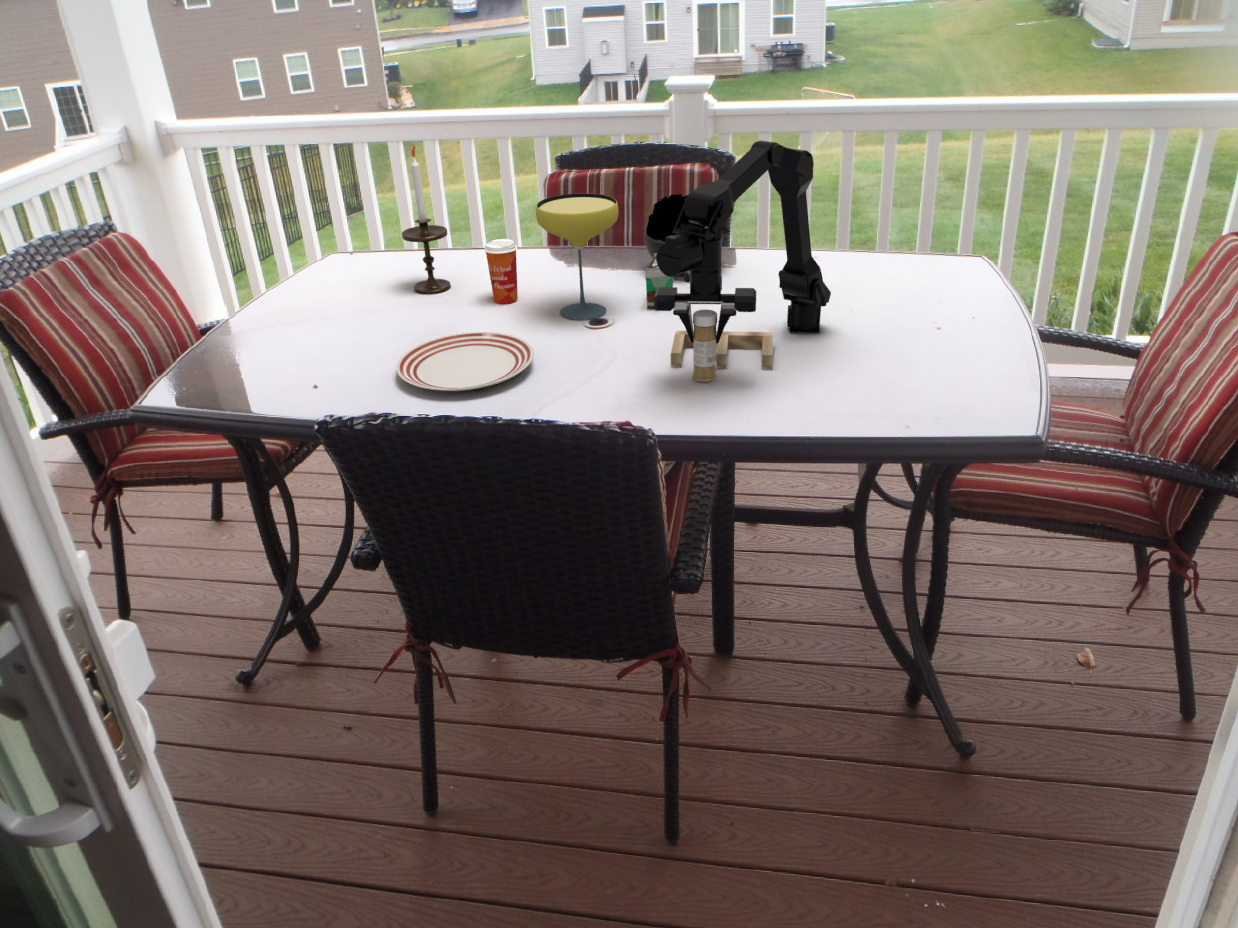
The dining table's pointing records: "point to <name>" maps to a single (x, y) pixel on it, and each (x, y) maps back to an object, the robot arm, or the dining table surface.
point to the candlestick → (425, 237)
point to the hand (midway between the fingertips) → (704, 342)
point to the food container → (655, 281)
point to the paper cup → (502, 270)
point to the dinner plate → (465, 361)
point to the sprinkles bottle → (704, 345)
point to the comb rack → (727, 346)
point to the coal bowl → (664, 222)
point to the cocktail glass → (578, 234)
